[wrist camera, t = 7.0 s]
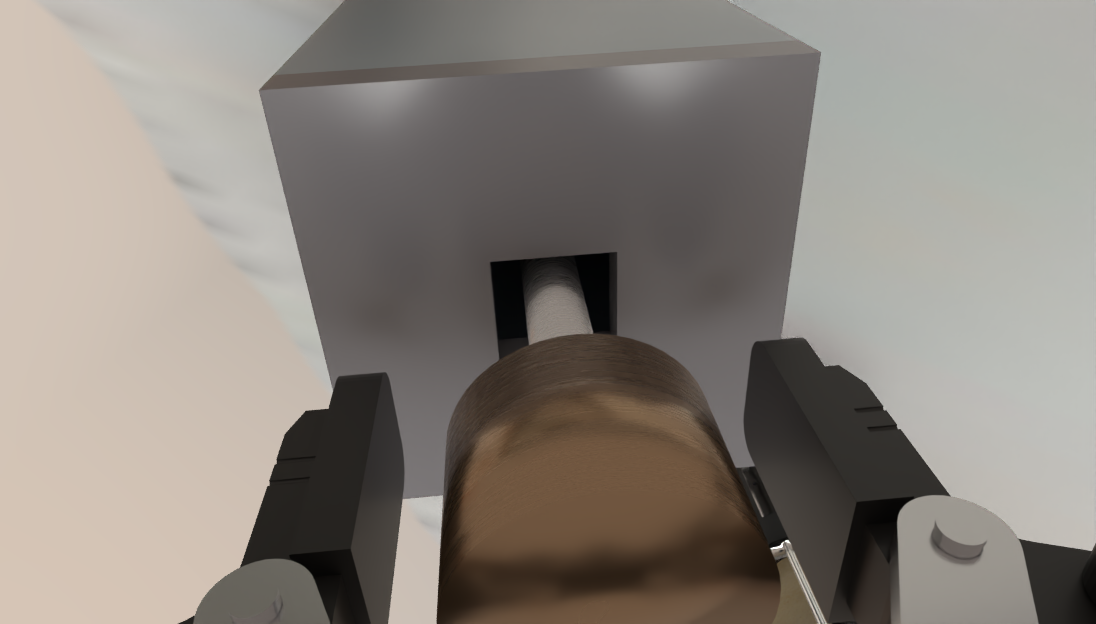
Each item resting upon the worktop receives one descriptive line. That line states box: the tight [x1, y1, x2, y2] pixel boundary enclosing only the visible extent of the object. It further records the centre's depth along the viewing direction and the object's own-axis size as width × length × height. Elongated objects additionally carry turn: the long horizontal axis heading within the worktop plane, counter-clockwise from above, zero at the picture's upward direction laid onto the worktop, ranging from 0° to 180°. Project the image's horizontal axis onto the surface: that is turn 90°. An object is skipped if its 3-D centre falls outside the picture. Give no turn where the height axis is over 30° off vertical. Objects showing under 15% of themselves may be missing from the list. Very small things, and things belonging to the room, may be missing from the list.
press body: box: [259, 0, 821, 499], centre depth 23 cm, size 9×9×19 cm
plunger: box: [437, 255, 781, 624], centre depth 19 cm, size 6×6×24 cm
